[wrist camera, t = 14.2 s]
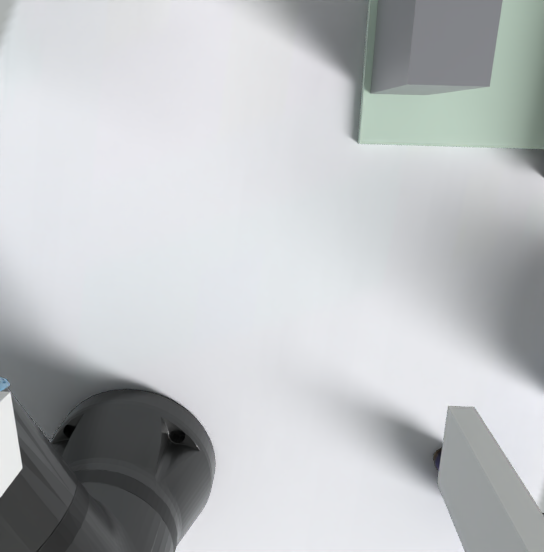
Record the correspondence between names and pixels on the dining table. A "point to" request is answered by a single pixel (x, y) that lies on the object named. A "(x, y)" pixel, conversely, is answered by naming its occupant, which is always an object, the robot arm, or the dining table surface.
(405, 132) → the green platform with post
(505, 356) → the dining table surface
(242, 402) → the dining table surface
